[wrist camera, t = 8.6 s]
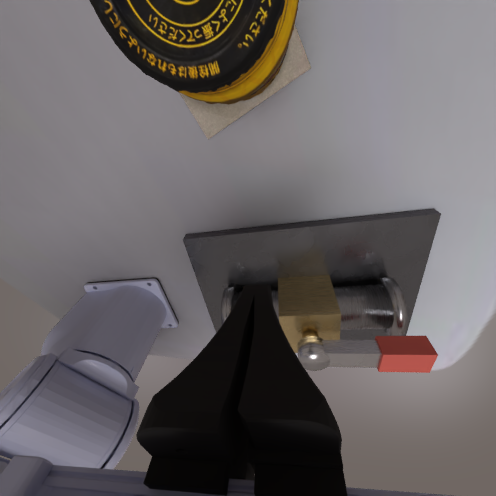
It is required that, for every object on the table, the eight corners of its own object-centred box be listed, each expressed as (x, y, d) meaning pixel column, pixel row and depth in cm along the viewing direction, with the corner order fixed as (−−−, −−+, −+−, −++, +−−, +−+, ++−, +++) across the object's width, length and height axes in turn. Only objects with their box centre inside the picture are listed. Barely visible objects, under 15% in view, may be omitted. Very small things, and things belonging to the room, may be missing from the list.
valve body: (221, 337, 32) (210, 392, 26) (186, 234, 23) (156, 280, 18) (400, 333, 28) (433, 395, 22) (433, 208, 20) (501, 256, 14)
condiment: (310, 68, 16) (376, 19, 6) (208, 139, 19) (131, 191, 8) (255, -80, 12) (177, -787, 2) (143, 34, 15) (-101, -80, 5)
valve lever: (297, 353, 21) (298, 370, 19) (296, 335, 19) (298, 353, 18) (418, 353, 19) (429, 373, 18) (426, 335, 18) (438, 354, 17)
